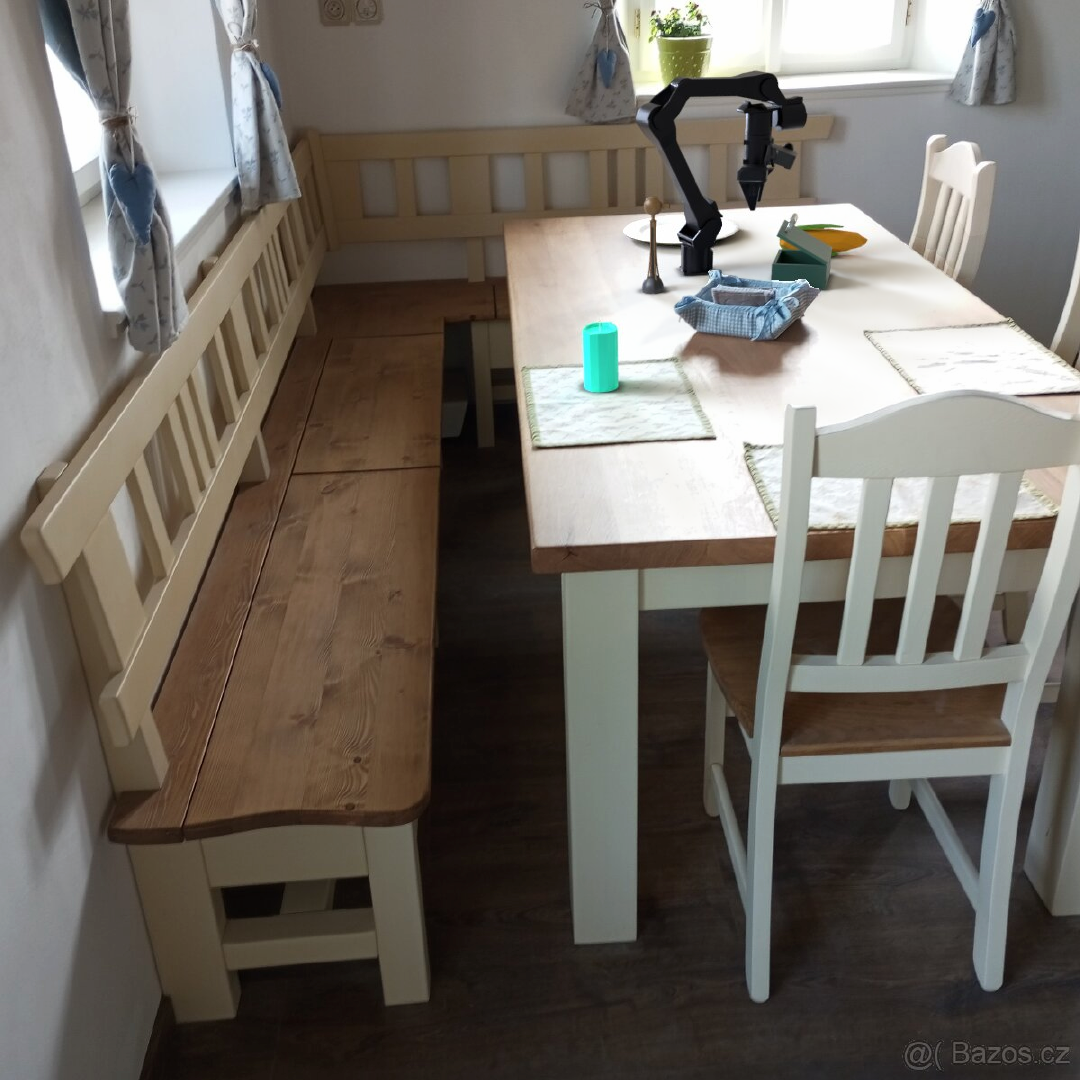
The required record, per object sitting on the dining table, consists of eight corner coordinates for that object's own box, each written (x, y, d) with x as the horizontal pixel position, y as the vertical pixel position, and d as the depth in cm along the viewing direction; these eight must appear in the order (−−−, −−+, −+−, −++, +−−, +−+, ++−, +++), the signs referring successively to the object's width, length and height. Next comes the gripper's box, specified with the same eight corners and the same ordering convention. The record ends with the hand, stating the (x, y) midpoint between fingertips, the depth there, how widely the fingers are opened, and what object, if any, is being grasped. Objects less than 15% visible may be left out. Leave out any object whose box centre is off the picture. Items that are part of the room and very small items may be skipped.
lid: (776, 236, 230) (786, 219, 227) (782, 222, 240) (792, 206, 238) (826, 265, 229) (836, 249, 227) (830, 250, 240) (840, 234, 237)
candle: (597, 377, 193) (596, 311, 187) (625, 384, 190) (624, 317, 184) (577, 388, 189) (574, 321, 183) (605, 395, 186) (603, 326, 180)
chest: (770, 288, 235) (772, 264, 233) (777, 272, 245) (778, 249, 243) (825, 290, 232) (826, 265, 229) (829, 274, 242) (831, 250, 240)
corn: (779, 219, 256) (866, 217, 254) (777, 251, 260) (863, 249, 258) (781, 229, 250) (871, 227, 248) (779, 261, 254) (867, 260, 252)
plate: (756, 227, 282) (756, 219, 282) (709, 254, 261) (709, 246, 260) (655, 218, 297) (655, 211, 296) (603, 243, 275) (602, 236, 275)
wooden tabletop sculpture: (670, 287, 239) (671, 194, 229) (666, 294, 235) (667, 199, 225) (644, 287, 240) (643, 194, 231) (639, 293, 237) (639, 198, 227)
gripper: (791, 140, 229) (787, 216, 237) (800, 126, 244) (795, 197, 252) (738, 140, 232) (735, 215, 240) (750, 126, 248) (747, 197, 255)
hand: (755, 206), depth 247 cm, fingers open, 9 cm apart
